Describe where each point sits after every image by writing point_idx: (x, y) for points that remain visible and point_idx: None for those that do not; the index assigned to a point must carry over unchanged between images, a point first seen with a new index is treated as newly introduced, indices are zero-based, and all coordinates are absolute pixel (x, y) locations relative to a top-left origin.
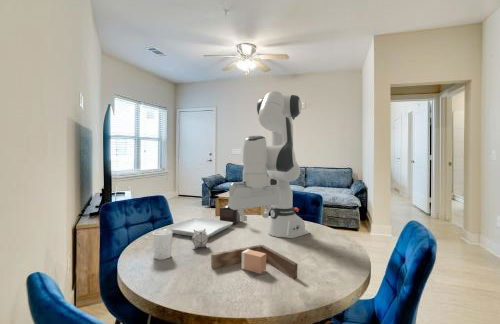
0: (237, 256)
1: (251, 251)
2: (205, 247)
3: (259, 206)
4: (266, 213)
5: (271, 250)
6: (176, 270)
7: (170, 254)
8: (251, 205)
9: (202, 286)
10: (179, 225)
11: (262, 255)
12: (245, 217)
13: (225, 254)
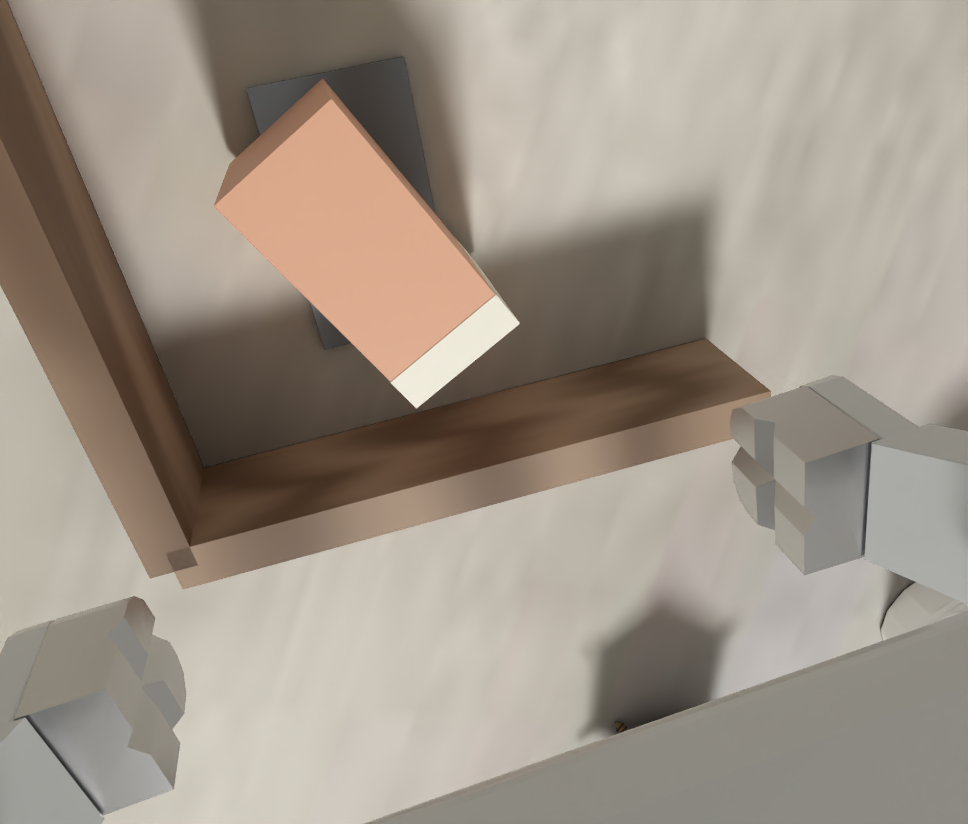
0: (485, 431)
1: (394, 324)
2: (622, 726)
3: (424, 804)
4: (61, 698)
5: (82, 396)
6: (948, 372)
7: (907, 610)
8: (953, 713)
9: (905, 13)
10: None
11: (290, 148)
12: (826, 431)
13: (632, 418)
